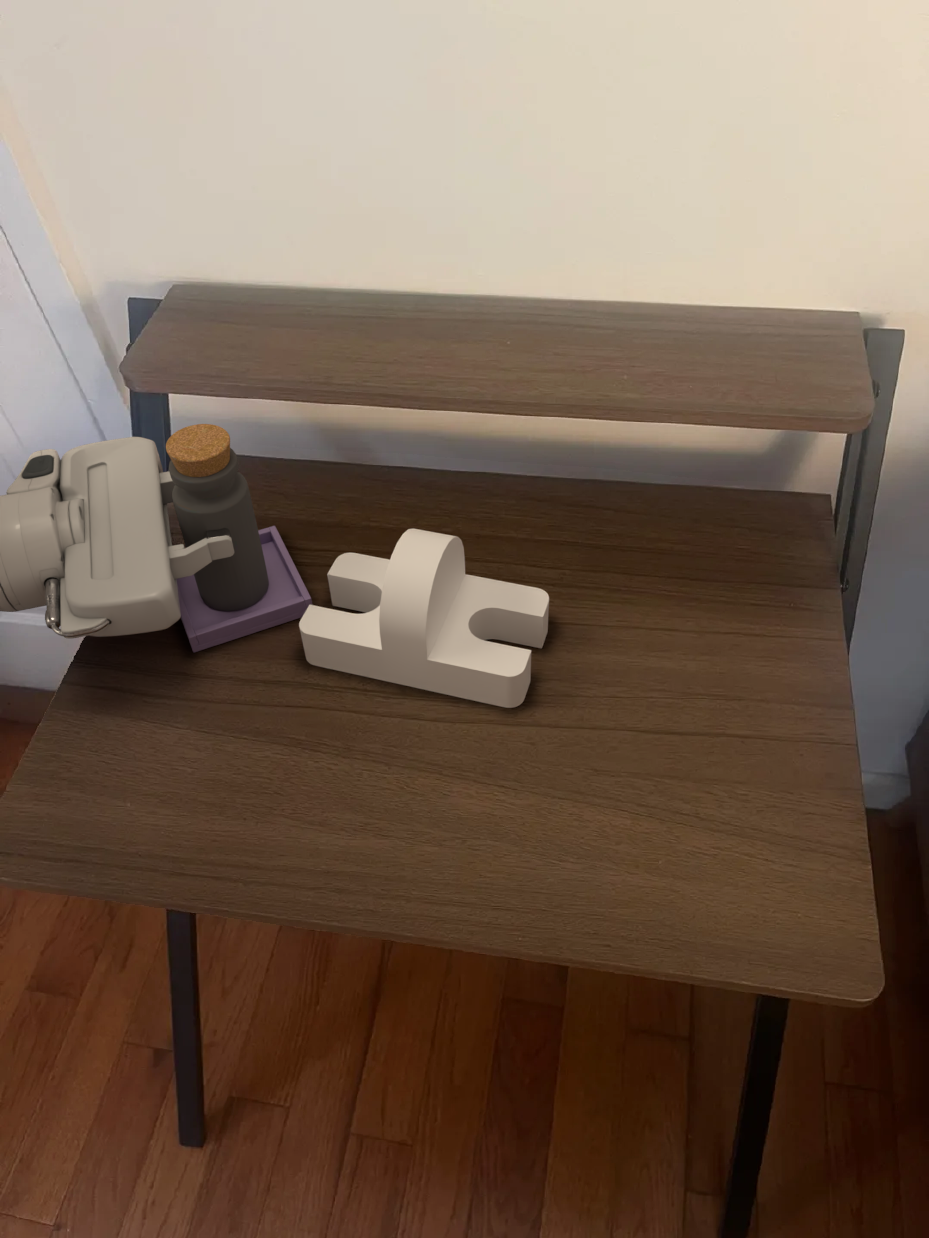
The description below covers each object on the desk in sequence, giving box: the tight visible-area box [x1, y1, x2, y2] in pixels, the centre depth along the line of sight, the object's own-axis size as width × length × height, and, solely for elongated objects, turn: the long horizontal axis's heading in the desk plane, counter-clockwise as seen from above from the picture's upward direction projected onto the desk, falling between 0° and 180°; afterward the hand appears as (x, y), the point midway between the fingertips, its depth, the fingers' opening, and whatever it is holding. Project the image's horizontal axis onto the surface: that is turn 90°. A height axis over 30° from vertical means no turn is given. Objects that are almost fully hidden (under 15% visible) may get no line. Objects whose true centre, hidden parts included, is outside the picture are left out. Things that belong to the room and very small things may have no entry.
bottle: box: [165, 423, 269, 611], centre depth 80 cm, size 6×6×15 cm
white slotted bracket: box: [298, 528, 550, 709], centre depth 78 cm, size 10×18×10 cm, turn 73°
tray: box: [176, 525, 313, 653], centre depth 85 cm, size 10×10×2 cm
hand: (226, 512), depth 80 cm, fingers closed on bottle, 6 cm apart
